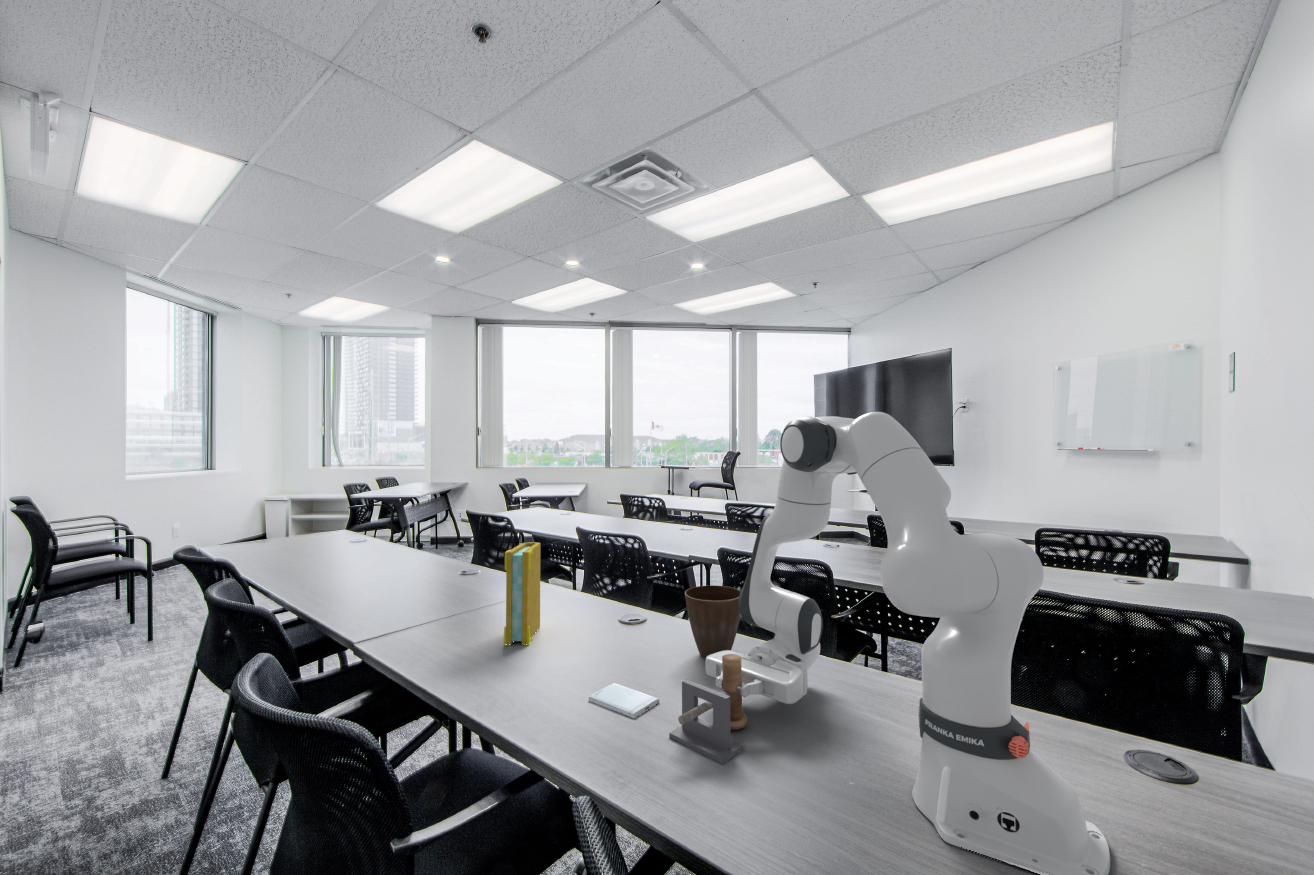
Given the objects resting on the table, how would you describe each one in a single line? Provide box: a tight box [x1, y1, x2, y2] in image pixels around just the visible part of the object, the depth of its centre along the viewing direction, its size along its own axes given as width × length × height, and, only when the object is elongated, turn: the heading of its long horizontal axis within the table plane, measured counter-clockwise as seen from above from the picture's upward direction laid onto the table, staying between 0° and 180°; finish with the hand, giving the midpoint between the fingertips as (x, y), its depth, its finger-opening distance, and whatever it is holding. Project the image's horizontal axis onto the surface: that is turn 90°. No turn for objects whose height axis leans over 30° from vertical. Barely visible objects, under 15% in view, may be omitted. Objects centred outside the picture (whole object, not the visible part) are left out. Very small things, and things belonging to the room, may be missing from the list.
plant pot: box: [684, 584, 741, 660], centre depth 133 cm, size 15×15×16 cm
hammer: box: [677, 654, 747, 730], centre depth 94 cm, size 5×17×12 cm, turn 136°
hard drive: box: [588, 682, 660, 719], centre depth 108 cm, size 2×8×12 cm
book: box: [503, 541, 541, 646], centre depth 149 cm, size 17×7×25 cm, turn 179°
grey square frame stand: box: [668, 679, 745, 765], centre depth 92 cm, size 12×6×10 cm, turn 46°
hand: (729, 687), depth 97 cm, fingers closed on hammer, 4 cm apart
